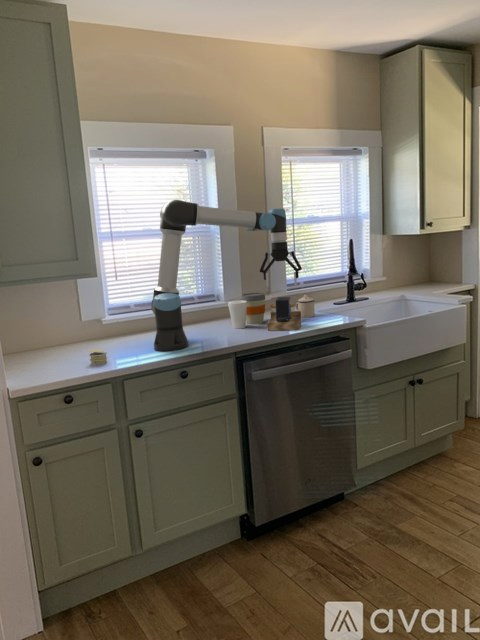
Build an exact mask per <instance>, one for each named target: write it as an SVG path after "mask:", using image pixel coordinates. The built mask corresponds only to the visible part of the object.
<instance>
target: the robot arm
mask: <svg viewBox="0 0 480 640" xmlns="http://www.w3.org/2000/svg"><path fill="white" fill-rule="evenodd" d="M159 212H160V213H159V216H160V222H159V223H160V225H159V231H160V233H162V238H161V248H160V259H159V268H158V279H157V280H158V281H157V286H156V287H155V288H154V289H153V297H152V301H151V303H150V304H151V305H150V306H151V307H150V308H151V310H152V313H153V314H154V318H155V326H156V328H155V329H156V333H155V337H154V342H153V347H154V348H153V349H154V350H155V351H159V352H160V351H161V352H171V351H178V350H183V349H185V348H188V347H189V340H188V337H187V335H186V333H185V329H184V325H183V314H182V313H183V312H182V300H181V296H180V290H178V288H177V286H178V285H177V284H178V274H179V265H180V256H181V247H182V246H181V245H182V236H183V235H184V234H186V232H187V231H186V229H187V226H191V227H193V226H194V227H196V226H197V225H204V226H205V225H206V226H207V225H209V226H218V227H227V228H238V229H246V231H247V232H254V231H255V232H257V231H258V232H259V231H270V239H271V252H268V251H267V252H265V254H264V256H265V257H264V259H263V261H262V264H261V267H260V268H259V273H262V274H263V280H264V281H266V282H265V283H266V284H265V285H266V286H265V287H267V288H269V286H270V285H269V283H270V281H269V272H268V271H269V270H270V268H271V267H272V265H273V264H274V263H275V262H284V261H285V262H286V263H287V264H288V265H289V266H290V267H291V268H292V269H293V270H294V272H293V279H294V286H296V287H297V285H298V284H297V283H298V280H297V279H299V273H300V271H302V270H303V267H302V266H301V264H300V261H299V260H298V258H297V257H296V255H295V251H294V250H292V251H289V250H288V242H287V241H288V234H287V233H288V232H287V215H286V210H285V208H283V207H281V208H271V209H269V212H257V211H248V210H239V209H229V208H219V207H212V206H203V205H202V206H200V205H199V204H198V203H196V202H189V201H184V200H180V199H172V200H169V201H167V202H166V203H164V204H163V205H162V206H161V208H160V211H159ZM289 255H290V257H292V259H293V261H294V263H295V264H294V263H292V261H291V260H290V259H289V257H288V256H289ZM270 257H272V259H271V261H270V262H269V263H268V265H267V266H266V264H267V262H268V260H269V258H270ZM264 268H265V269H264Z"/></svg>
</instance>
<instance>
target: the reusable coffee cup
mask: <svg viewBox="0 0 480 640" xmlns="http://www.w3.org/2000/svg"><path fill="white" fill-rule="evenodd" d="M265 300H266V295H265V292H247V293H243V294H241V301H247V308H246V325H247V324H248V325H257V324H262V323H264V320H265V319H264V318H265V317H264V315H265V312H266V303H265Z"/></svg>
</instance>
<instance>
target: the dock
mask: <svg viewBox="0 0 480 640" xmlns="http://www.w3.org/2000/svg"><path fill="white" fill-rule="evenodd" d="M266 324H267V326H266V327H267V332H273V331H274V332H278V331H299V330H300V329H301V327H302V317H301V311H297V310H295V311H291V318H290V320H289V321H276V312H270V318H269V320H268V321H267V323H266Z"/></svg>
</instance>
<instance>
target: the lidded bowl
mask: <svg viewBox="0 0 480 640" xmlns="http://www.w3.org/2000/svg"><path fill="white" fill-rule="evenodd" d="M290 302H291V301H290ZM295 309H296V303H294V302H291V311H296V310H295ZM270 311H271V312H276V302H273V303H271V304H270ZM271 312H270V313H271Z"/></svg>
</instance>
